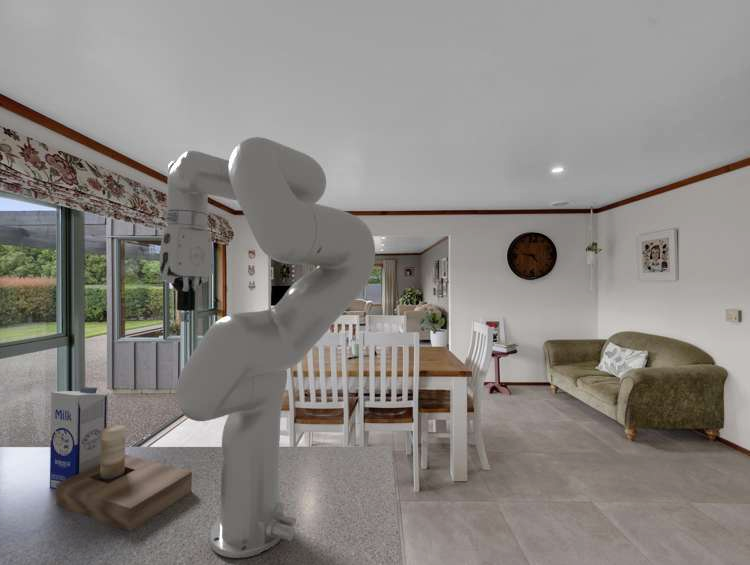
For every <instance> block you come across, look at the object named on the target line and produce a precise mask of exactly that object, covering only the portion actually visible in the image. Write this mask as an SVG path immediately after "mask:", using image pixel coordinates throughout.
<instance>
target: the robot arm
mask: <svg viewBox="0 0 750 565" xmlns="http://www.w3.org/2000/svg"><path fill="white" fill-rule="evenodd" d="M326 187H327V178H326V174H325V171H324V169H323V168H322V166H321V165H320V163H318V161H317V160H316V159H314V158H313V157H311V156H310V155H308V154H306V153H304V152H303V151H302V152H301V151H299V150H296V149H294V148H291V147H290V146H286V145H284V144H282V143H279V142H276V141H273V140H271V139H268V138H265V137H259V136H256V137H255V136H253V137H249V138H247V139H245V140H243V141H241V142H240V143H239V144H237V146H236V147H235V148H234V150H233V151H232V153H231V155H230V159H229V160H228V159H224V158H221V157H218V156H213V155H211V154H207V153H205V152H200V151H196V150H188V151H186V152H184V153H183V154H182V155H181V156H180V157H179V158H178V159H177V160H173V161H171V162H170V163H169V164H168V166H167V190H166V191H167V193H166V194H167V198H166V199H167V200H166V204H167V205H166V212H164V213H163V215H162V216H163V219H164V220H166V226H164V228H163V232H162V236H161V242H160V249H159V250H160V251H159V272H160V273H161V281H162V282H165V283H168V284H170V285H172V287H173V290H174V291H175V292H176V310H177V311H184V312H190V311H191V312H193V311H195V309H196V308H195V307H196V292H197V291H198V290H199V287H200V285H201V284H203V283H207V282H209V277H211V276H212V275H214V268H215V267H214V248H213V242H212V241H213V240H212V235H211V232H210V231H209V230H208V211H209V210H208V209H209V208H208V206H209V204H208V201H209V200H208V199H209V198H208V196H209V195H210V196H214V197H219V198H224V199H227V200H232V201H237V202H238V205H239V207H240V209H241V210H242V213H243V215H244V217H245V219H246V222H247V224H248V226H249V227H250V228H249V229H250V230H251V233H252V234H253V236H254V238H255V241H256V243H257V244H258V246H259V247H260V249H261V250H262V252H263V253H264V254H265V255H266V256H267V257H268V258H270V259H272V260H273V261H275V262H277V263H278V262H279V263H281V264H288V265H300V266H301V265H302V266H303V265H304V266H315V268H314V269H312V270H311V271H310V272H308V273H307V274H304V276H302V277H300V278H299V279H297V280H296V281H295V282H294V283H293V284H292V285H291V286H290V287H289V288H288V289H287V291H286V292H285V293H284V295H283V296H282V298H280V300H279V301H278V302H277V303H276V304H275V305H274V306H273V307H271V308H269V309H266V310H261V311H249V312H238V313H232V314H228V315H226V316H224V317H222V318H220V319H218V320H217V321H215V322H214V323H213V324H211V326H210V327H209V328H208V330H207V331H206V332H205V333H204V335H203V337H202V338H201V340H200V342H199V343H198V344H197V346H196V347H195V349H194V350H193V352H192V353H191V355H190V357H189V358H188V360H187V361H186V363H185V364H184V366H183V368H182V370H181V371H180V374H179V376H178V379H177V380H178V381H177V384H176V389H175V390H176V391H175V392H176V393H175V396H176V397H175V398H176V402H177V405H178V409H179V410H180V412H181V413H182V414H183V415H184V416H185V417H186V418H188V419H190V420H192V421H195V422H207V421H212V420H216V419H218V418H222V417H225V416H227V418H226V420H225V423H224V426H223V430H222V435H221V453H220V454H221V455H220V456H221V457H220V460H221V461H220V462H221V463H220V468H221V469H220V502H219V505H220V506H219V509H220V513H219V515H220V516H219V518H218V519H217V520H216V521H215V522H214V524H213V525H212V527H211V528H210V531H209V545H210V547H211V548H212V550H213V551H214V552H215V553H217V554H218V555H220V556H222V557H226V558H229V559H244V558H249V557H250V556H251V557H254V555H255V556H257V554H258V555H260V553H261V552H263V551H265V550H267V551H269V550H270V549H272V548H273V547H275V546H276V545H277V544H278V543H279V542H280V541H281V540H285V541H288V542H291V541H293V540H292V539H293V538H294V536H295V531H296V529H295V525H296V523H297V519H296V518H295V517H293V516H287V515H286V514H285V512H284V508H285V507H284V505H285V504H284V503H283V502H279V483H280V481H279V480H280V479H279V478H280V441H281V440H280V438H281V417H282V416H281V415H282V408H283V402H284V397H285V394H286V387H287V382H288V370H287V369H291V368H293V367H295V366H296V365H298V364H299V363H300V362H301V361H302V360H303V359H304V358H305V357H306V356H307V354H309V353H310V351H311V350H312V349H313V348H314V346H315V345H316V344H317V343H319V341H320V340H321V339H322V337H324V335H325V334H326V333H327V332H328V331H329V329H330V328H331V327H332V326H333V325H334V323H336V321H338V319H339V318H340V317H341V316H342V315H343V314H344V312H346V311H347V310H348V308H350V306H351V305H352V304H354V302H355V301H356V300H357V299H358V298H359V297H360V296H361V293H362V292H364V289H365V288H366V286H367V285H368V283H369V281H370V278H371V276H372V273H373V269H374V266H375V261H376V260H375V259H376V246H375V240H374V236H373V234H372V232H371V230H370V228H369V226H368V225H367V223H365V222H364V220H362V219H360V218H359V217H358V216H356V215H354V214H352V213H350V212H347V211H345V210H342V209H339V208H335V207H331V206H326V205H323V204H318V203H317V202H319V201H320V200H321V198H322V197H323V196H324V194H325V191H326ZM275 544H276V545H275ZM271 547H272V548H271ZM269 548H270V549H269ZM268 549H269V550H268ZM265 552H266V551H265ZM263 553H264V552H263ZM261 554H262V553H261Z"/></svg>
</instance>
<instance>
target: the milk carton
mask: <svg viewBox="0 0 750 565" xmlns="http://www.w3.org/2000/svg"><path fill="white" fill-rule="evenodd" d="M97 390H98V387H95V386H94V387H92V386H81V387H80V390H79V391H76V390H75V391H74V390H71V391H70V390H60V391H51V392H50V395H51V396H50V448H49V449H50V451H49V456H50V457H49V489H53V490H56V484H57V483H59V482H62V481H64V480H66V479H68V478H71V477H73V476H75V475H77V474H80V473H82V472H84V471H86V470H89V469H91V468H93V467H96V466H98V465H100V463H101V430H103V429H104V428H107V427H108V414H109V413H108V410H109V409H108V408H109V393H108V394H107V393H101V392H99V393H98V392H97Z"/></svg>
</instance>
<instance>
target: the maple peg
mask: <svg viewBox="0 0 750 565" xmlns="http://www.w3.org/2000/svg"><path fill="white" fill-rule="evenodd" d="M125 455H126V426H125V425H124V424H123V425H122V424H121V425H120V424H117V425H112V426H107V428H104V429H103V430H101V463H100V481H101V482H104V483H107V484H108V483H110V482H112V481H114V480H116V479H118V478H120V477H122V476H124V475H125Z"/></svg>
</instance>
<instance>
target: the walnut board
mask: <svg viewBox="0 0 750 565" xmlns="http://www.w3.org/2000/svg"><path fill="white" fill-rule="evenodd" d="M192 476H193V472H192V471H189V470H186V469H181V468H178V467H174V466H171V465H166V464H162V463H159V462H155V461H152V460H148V459H144V458H139V457H136V456H132V455H129V454H125V475H124V476H122V477H120V478H118V479H116V480H114V481H112V482H110V483H108V484H107V483H104V482H101V481H100V465H98V466H96V467H93V468H91V469H89V470H86V471H84V472H82V473H80V474H77V475H75V476H73V477H71V478H68V479H66V480H64V481H62V482H59V483H57V484H56V489H55V505H56V506H59V507H61V508H64V509H67V510H68V511H69V510H70V511H73V512H75V513H77V514H81V515H83V516H86V517H88V518H91V519H94V520H97V521H99V522H100V521H101V522H102V523H105V524H108V525H111V526H114V527H116V528H119V529H121V530H124V531H128V532H131V531H133V530H135V529H136V528H138V527H140V526H141V525H143V523H144V524H145V522H147V521H149V520H150V519H152V518H153V517H155V516H156V515H157V514H159V513H161V512H162V511H165V509H167V508H168V507H170V506H171V505H173V504H174V503H176V502H177V501H179V500H181V499H182V498H184V497H185V496H186V495H188V494H190V493H192V487H193V486H192V484H193V482H192V479H193V478H192Z"/></svg>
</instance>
